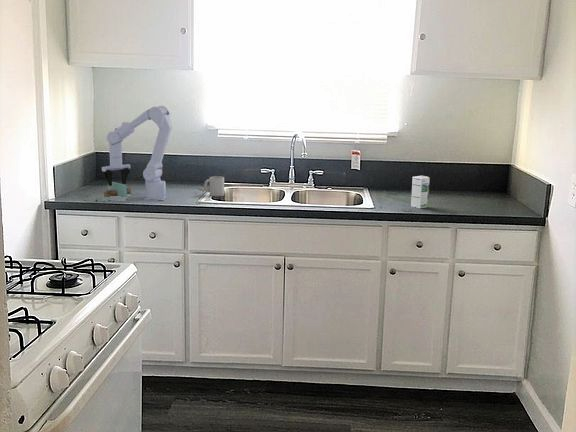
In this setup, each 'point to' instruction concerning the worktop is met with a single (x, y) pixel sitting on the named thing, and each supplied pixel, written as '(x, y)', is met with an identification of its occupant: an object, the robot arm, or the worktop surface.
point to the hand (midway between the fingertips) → (117, 184)
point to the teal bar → (119, 189)
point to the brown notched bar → (114, 192)
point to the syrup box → (420, 191)
